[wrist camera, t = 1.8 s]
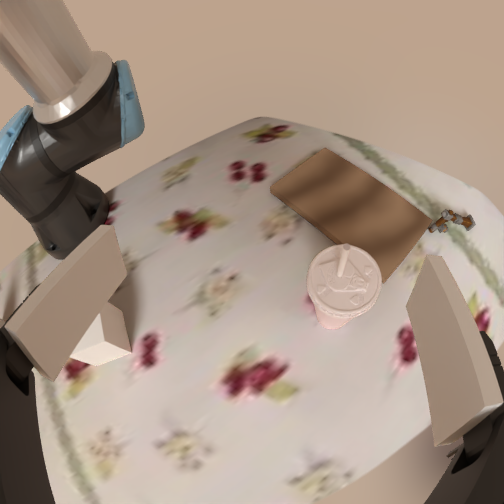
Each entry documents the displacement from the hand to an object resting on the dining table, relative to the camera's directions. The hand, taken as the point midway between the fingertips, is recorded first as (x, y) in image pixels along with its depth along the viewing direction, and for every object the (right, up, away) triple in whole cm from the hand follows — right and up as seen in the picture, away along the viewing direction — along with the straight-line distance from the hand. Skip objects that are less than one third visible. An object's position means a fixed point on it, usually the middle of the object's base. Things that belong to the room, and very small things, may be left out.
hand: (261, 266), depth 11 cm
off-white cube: (-19, -11, +22) cm, 31 cm away
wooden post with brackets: (+28, +3, +22) cm, 36 cm away
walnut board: (+13, +7, +26) cm, 30 cm away
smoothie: (+9, -6, +20) cm, 22 cm away
